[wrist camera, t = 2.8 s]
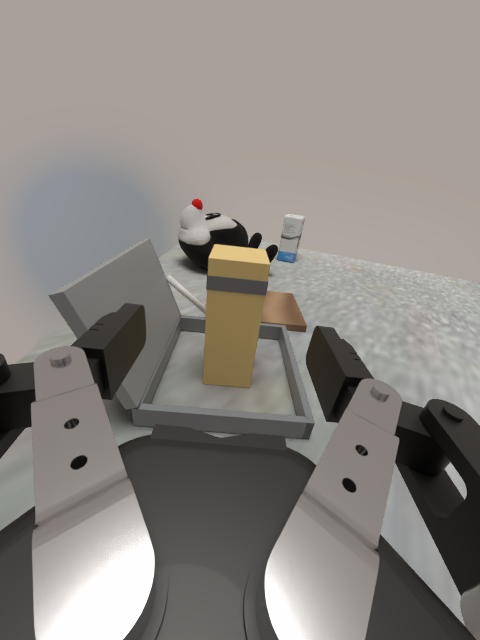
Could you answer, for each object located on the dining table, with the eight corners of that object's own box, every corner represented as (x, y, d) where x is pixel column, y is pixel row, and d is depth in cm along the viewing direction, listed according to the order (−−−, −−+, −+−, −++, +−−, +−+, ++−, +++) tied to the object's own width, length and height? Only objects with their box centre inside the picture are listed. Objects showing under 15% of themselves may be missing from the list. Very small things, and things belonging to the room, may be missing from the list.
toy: (169, 201, 58) (253, 183, 60) (189, 269, 68) (261, 253, 69) (166, 209, 44) (276, 186, 46) (191, 294, 54) (282, 272, 56)
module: (249, 358, 30) (265, 249, 23) (250, 388, 25) (271, 264, 19) (208, 354, 30) (214, 243, 23) (202, 384, 25) (207, 257, 19)
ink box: (293, 263, 69) (303, 218, 64) (276, 260, 70) (284, 215, 65) (297, 256, 77) (306, 215, 71) (281, 253, 78) (289, 213, 72)
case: (281, 334, 35) (300, 253, 30) (308, 439, 21) (353, 320, 15) (150, 322, 34) (143, 236, 29) (85, 421, 20) (46, 289, 15)
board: (291, 298, 47) (292, 293, 47) (305, 331, 37) (306, 326, 36) (217, 290, 47) (218, 285, 46) (210, 322, 36) (211, 316, 36)
